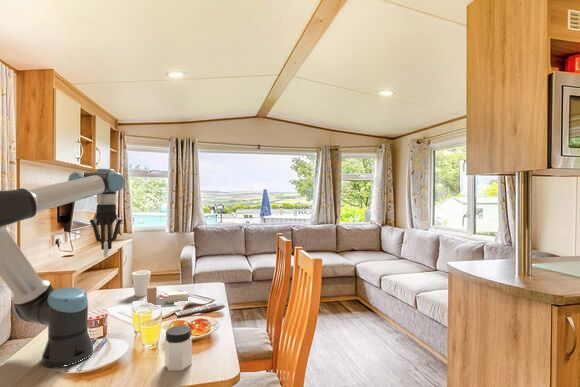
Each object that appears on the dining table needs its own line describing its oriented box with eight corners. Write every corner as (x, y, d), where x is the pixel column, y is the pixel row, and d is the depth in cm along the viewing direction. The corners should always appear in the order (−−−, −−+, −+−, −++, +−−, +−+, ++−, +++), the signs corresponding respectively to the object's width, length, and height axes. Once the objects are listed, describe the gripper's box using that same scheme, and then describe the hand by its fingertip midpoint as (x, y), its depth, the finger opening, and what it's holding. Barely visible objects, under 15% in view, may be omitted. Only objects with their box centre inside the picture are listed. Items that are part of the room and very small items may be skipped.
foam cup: (128, 296, 184) (128, 272, 184) (144, 292, 192) (144, 269, 191) (137, 299, 179) (137, 275, 178) (153, 295, 186) (153, 272, 186)
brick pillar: (156, 307, 166) (156, 287, 166) (147, 308, 164) (147, 288, 164) (155, 304, 170) (155, 285, 170) (146, 306, 168) (146, 286, 168)
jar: (194, 358, 119) (194, 324, 119) (189, 370, 111) (189, 334, 111) (168, 359, 118) (168, 325, 118) (161, 371, 110) (161, 335, 110)
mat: (189, 306, 170) (189, 305, 170) (142, 310, 164) (142, 308, 164) (189, 296, 185) (189, 295, 185) (147, 299, 180) (147, 298, 179)
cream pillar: (167, 302, 173) (187, 301, 175) (167, 295, 173) (187, 293, 175) (167, 300, 177) (187, 298, 179) (168, 292, 177) (187, 291, 179)
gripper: (124, 203, 153) (124, 254, 154) (92, 203, 150) (92, 255, 150) (120, 204, 146) (120, 257, 147) (87, 204, 143) (87, 259, 143)
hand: (106, 256), depth 148 cm, fingers closed
